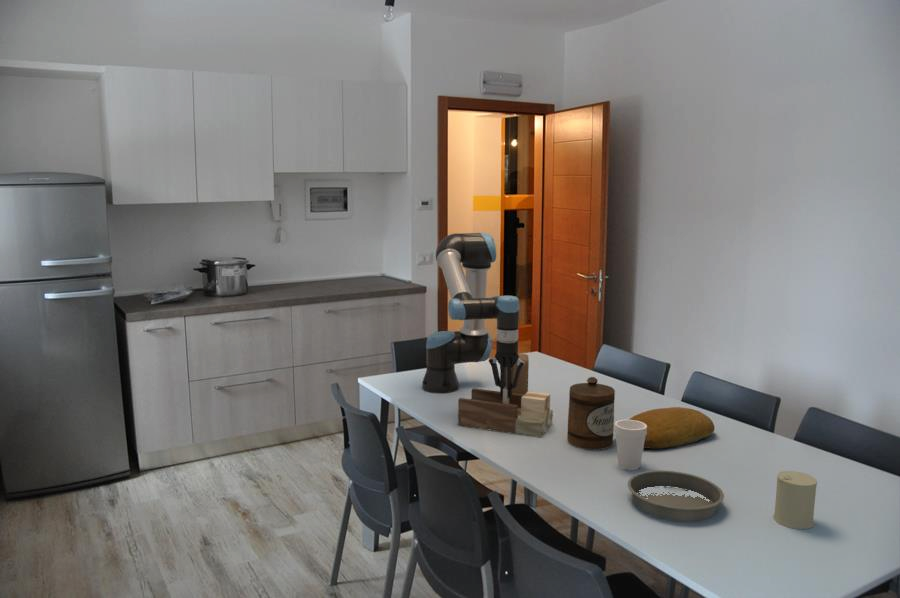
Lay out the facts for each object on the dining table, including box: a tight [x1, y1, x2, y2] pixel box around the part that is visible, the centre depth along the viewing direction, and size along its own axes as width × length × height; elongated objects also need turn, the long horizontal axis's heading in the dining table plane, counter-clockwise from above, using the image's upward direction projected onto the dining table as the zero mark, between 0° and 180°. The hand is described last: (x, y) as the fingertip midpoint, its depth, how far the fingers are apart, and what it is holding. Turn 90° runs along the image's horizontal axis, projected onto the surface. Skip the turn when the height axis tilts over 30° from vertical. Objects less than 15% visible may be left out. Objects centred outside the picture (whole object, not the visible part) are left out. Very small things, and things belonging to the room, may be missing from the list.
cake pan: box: [627, 469, 725, 522], centre depth 192 cm, size 25×25×4 cm
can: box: [772, 470, 818, 530], centre depth 181 cm, size 9×9×12 cm
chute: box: [457, 387, 554, 438], centre depth 252 cm, size 15×30×10 cm, turn 68°
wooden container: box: [566, 376, 616, 450], centre depth 235 cm, size 15×15×22 cm
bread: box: [628, 406, 715, 449], centre depth 241 cm, size 18×35×10 cm, turn 117°
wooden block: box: [505, 353, 530, 395], centre depth 271 cm, size 10×10×20 cm
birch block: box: [521, 390, 551, 420], centre depth 247 cm, size 8×8×7 cm
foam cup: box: [614, 419, 647, 471], centre depth 216 cm, size 10×9×13 cm
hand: (505, 405), depth 252 cm, fingers closed
